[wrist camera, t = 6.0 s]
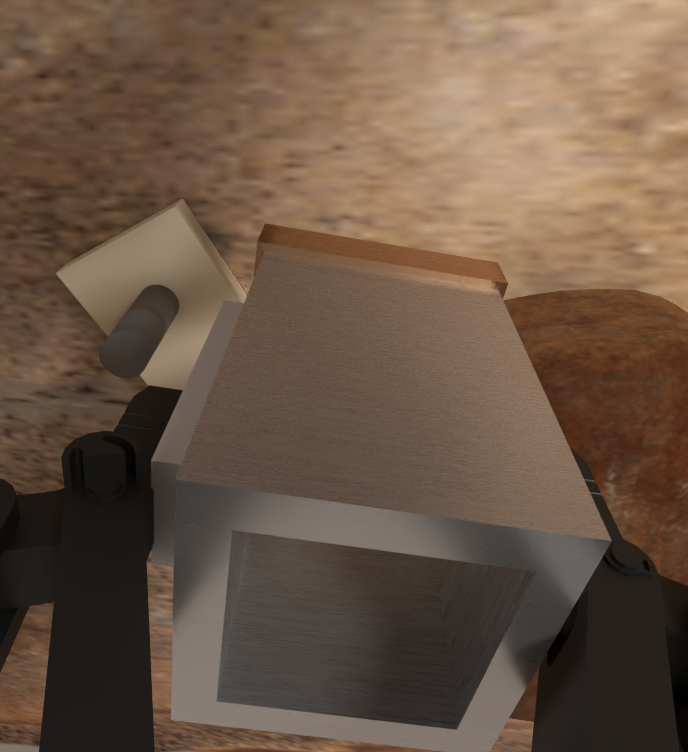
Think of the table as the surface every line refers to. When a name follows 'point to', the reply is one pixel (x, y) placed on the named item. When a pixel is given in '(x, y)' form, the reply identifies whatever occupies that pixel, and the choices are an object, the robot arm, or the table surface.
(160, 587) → the table surface
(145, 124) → the table surface
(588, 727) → the robot arm
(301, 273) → the sleeve
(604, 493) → the bread
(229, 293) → the pin board
